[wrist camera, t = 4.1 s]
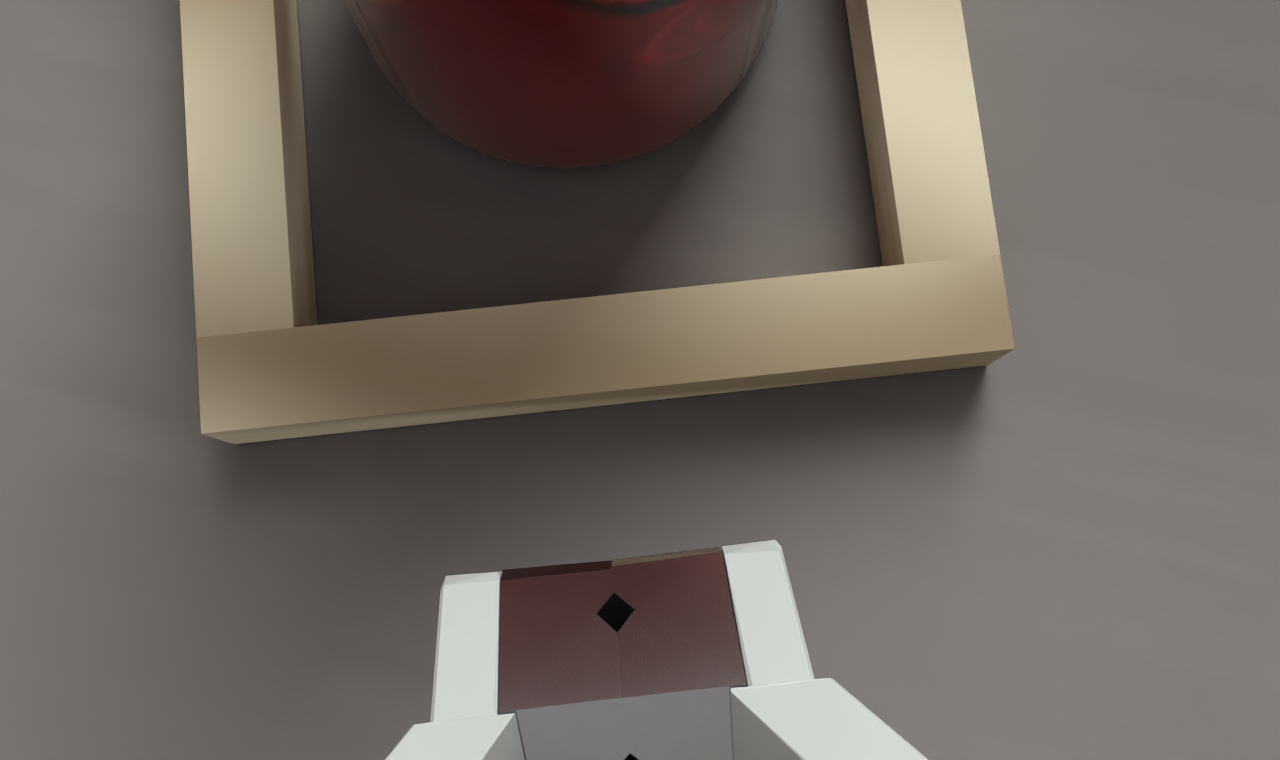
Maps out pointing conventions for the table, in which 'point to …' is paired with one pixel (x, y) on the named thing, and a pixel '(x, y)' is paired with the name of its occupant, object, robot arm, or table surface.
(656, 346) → the guide channel
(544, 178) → the table surface
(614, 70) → the soda can
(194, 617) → the table surface
